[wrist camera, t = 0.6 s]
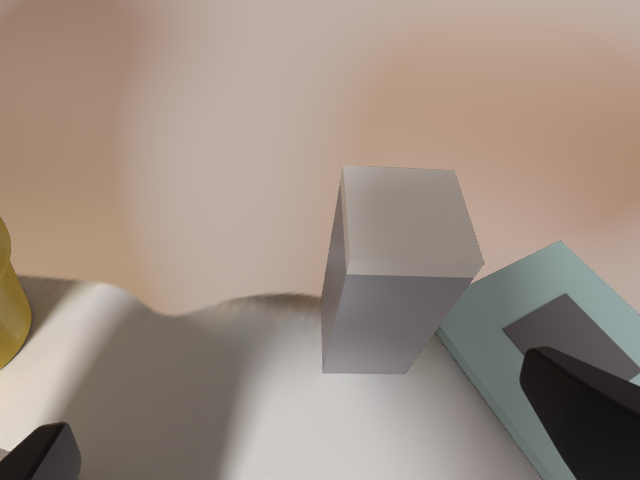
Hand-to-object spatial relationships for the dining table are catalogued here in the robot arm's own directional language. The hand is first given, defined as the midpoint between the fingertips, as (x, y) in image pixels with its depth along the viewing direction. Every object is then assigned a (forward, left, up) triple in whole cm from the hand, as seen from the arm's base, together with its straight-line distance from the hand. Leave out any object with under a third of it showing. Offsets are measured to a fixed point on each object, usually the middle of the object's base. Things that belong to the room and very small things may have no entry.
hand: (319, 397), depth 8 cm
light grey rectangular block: (+6, -7, -16) cm, 18 cm away
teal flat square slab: (-1, -18, -16) cm, 24 cm away
